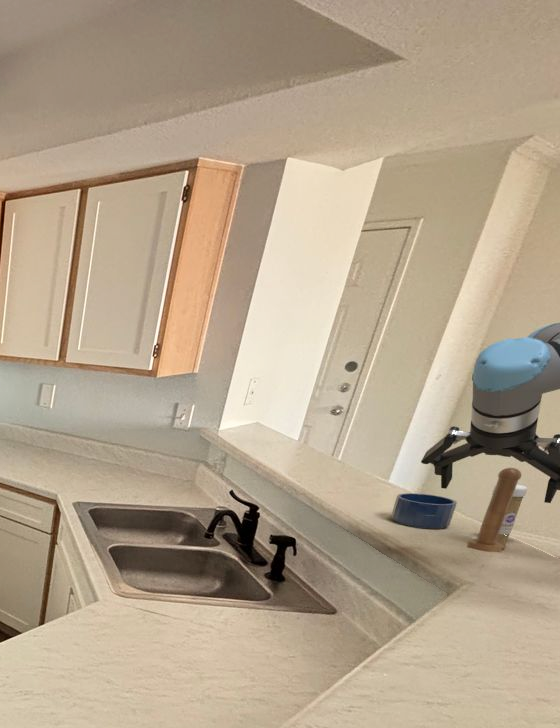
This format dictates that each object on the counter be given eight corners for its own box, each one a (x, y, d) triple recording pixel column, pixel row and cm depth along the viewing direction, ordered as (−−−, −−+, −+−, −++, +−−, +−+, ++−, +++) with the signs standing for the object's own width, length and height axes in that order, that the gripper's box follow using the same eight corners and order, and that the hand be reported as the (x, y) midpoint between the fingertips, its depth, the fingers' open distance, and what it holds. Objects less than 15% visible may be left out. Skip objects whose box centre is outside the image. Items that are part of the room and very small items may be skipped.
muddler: (498, 556, 120) (530, 467, 113) (497, 562, 117) (530, 471, 110) (465, 550, 123) (494, 464, 117) (463, 556, 120) (493, 468, 114)
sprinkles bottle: (493, 551, 122) (516, 488, 118) (468, 543, 126) (489, 483, 122) (511, 548, 123) (534, 486, 118) (485, 541, 127) (506, 481, 123)
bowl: (450, 522, 140) (458, 498, 138) (446, 532, 133) (455, 507, 131) (393, 514, 147) (400, 491, 145) (387, 523, 140) (394, 499, 138)
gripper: (396, 427, 107) (400, 492, 120) (613, 445, 88) (591, 520, 100) (414, 395, 108) (416, 463, 121) (633, 406, 88) (608, 485, 101)
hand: (495, 489), depth 111 cm, fingers open, 13 cm apart
